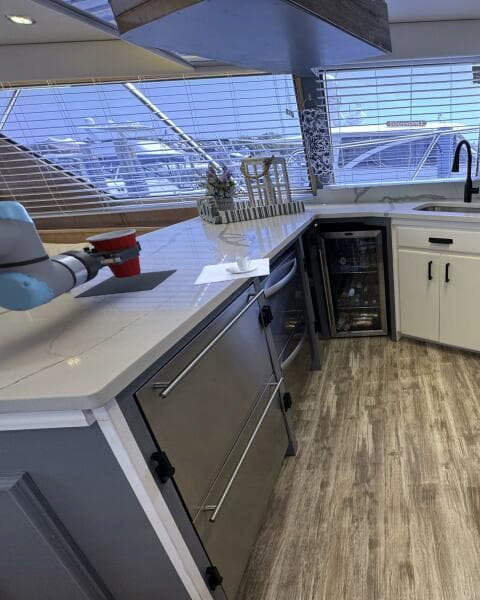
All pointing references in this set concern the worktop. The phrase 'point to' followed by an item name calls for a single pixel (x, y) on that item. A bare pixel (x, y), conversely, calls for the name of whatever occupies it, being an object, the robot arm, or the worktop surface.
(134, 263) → the plastic cup
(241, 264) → the teacup and saucer
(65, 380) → the worktop surface
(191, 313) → the worktop surface
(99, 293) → the mat
